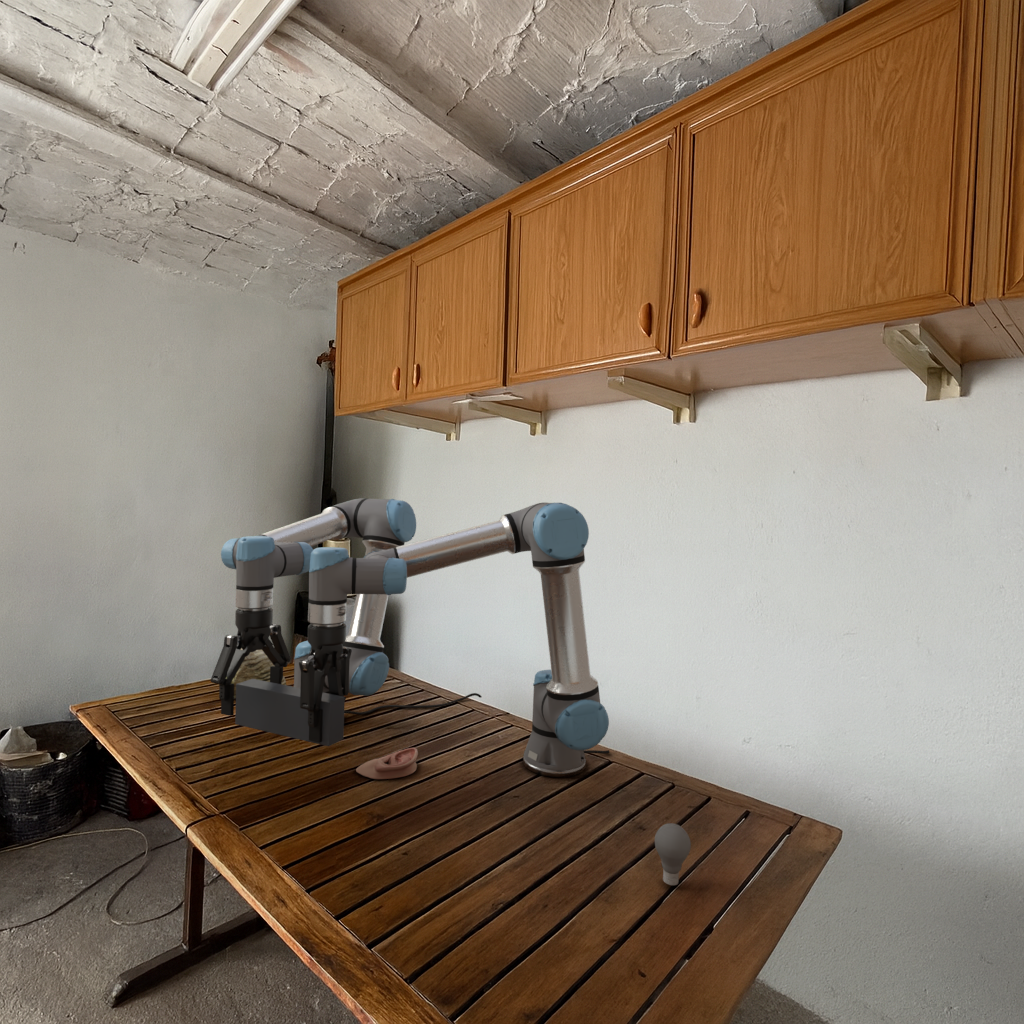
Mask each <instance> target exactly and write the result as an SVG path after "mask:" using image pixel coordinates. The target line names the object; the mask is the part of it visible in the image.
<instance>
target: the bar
mask: <svg viewBox="0 0 1024 1024" xmlns="http://www.w3.org/2000/svg"><path fill="white" fill-rule="evenodd" d="M345 697H346V696H338V695H333V694H328V693H322V699H321V704H320V709H323V719H322V742H320V743H318V742H313V741H309V726H308V710H306V709H302V708H300V688H297V687H294V686H293V685H287V684H286V685H282V684H277V683H272V682H267V681H262V680H257V679H250V680H247V681H244V682H241V683H238V684H236V698H235V713H234V714H235V718H234V719H235V720H234V721H235V722H234V724H235V725H237V726H241V727H246V728H249V729H254V730H258V731H262V732H266V733H270V734H275V735H279V736H283V737H287V738H291V739H295V740H300V741H304V742H307V743H313V744H317V745H321V746H326V747H330V746H332V745H334V744H337V743H339V742H341V741H342V740H344V738H345V737H344V736H345V735H344V734H345V713H344V711H345V704H346V703H345V702H346V700H345ZM314 704H315V703H314Z"/></svg>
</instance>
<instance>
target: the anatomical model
mask: <svg viewBox="0 0 1024 1024" xmlns="http://www.w3.org/2000/svg"><path fill="white" fill-rule="evenodd" d="M418 755H419V751H418V749H417V747H408V748H405V749H404V748H403V749H401V750H397V751H395V752H392V753H390V754H387V755H384V756H381V757H378V758H374V759H371V760H368V761H366V762H364V763H362V764H361V765H359V766H358V767H357V768H356V769H355V771H356V773H357V774H359V775H361V776H363V777H366V778H369V779H372V780H387V779H388V780H390V779H398V778H403V777H406V776H409V775H412V774H414V773H415V772H416V771H417V768H418V764H417V762H416V761H417V759H418Z"/></svg>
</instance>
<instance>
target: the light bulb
mask: <svg viewBox="0 0 1024 1024" xmlns="http://www.w3.org/2000/svg"><path fill="white" fill-rule="evenodd" d="M654 847H655V850H656V852H657V854H658V856H659V858H660V860H661V867H662V869H663V870H662V871H663V873H662V881H663V882H664V883H665V884H667V885H669V886H677V885H678V884H679V880H680V879H679V876H680V871H681V870H682V866H683V863H684V862H685V860H687V857H688V856H689V855H690V852H691V849H692V842H691V838H690V836H689V834H688V832H687V831H686V830H685V829H684V828H683V827H682V826H681V825H679V824H678V823H671V822H669V823H665V824H663V825H662V826H660V827H659V828H658V829H657V831H656V832H655V835H654Z"/></svg>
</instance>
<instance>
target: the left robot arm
mask: <svg viewBox="0 0 1024 1024" xmlns="http://www.w3.org/2000/svg"><path fill="white" fill-rule="evenodd" d="M416 517H417V516H416V514H415V512H414V509H413V507H412V506H411V505H410V503H408V502H407V501H405V500H401V499H395V498H389V499H388V498H368V497H361V498H355V499H351V500H347V501H344V502H340V503H337V504H335V505H334V504H333V505H331V506H329V507H326V508H324V509H323V510H322V512H321V513H319V514H316V515H313V516H310V517H308V518H304V519H302V520H298V521H295V522H293V523H290V524H287V525H284V526H282V527H278V528H275V529H273V530H272V529H271V530H270V531H267V532H264V533H260V534H258V535H247V536H242V537H237V538H230V539H228V540H227V541H225V542H224V543H223V545H222V547H221V550H220V558H221V561H222V564H223V565H224V566H225V567H226V568H228V569H231V570H235V573H236V574H235V607H236V608H237V609H235V619H234V624H235V627H236V628H237V632H236V634H235V635H234V634H233V635H231V634H226V635H225V636H224V638H223V646H222V649H221V652H220V654H219V657H218V659H217V661H216V665H215V667H214V670H213V672H212V675H211V677H210V683H212V684H217V685H219V686H218V687H219V689H218V692H219V693H218V698H219V701H220V714H221V715H225V716H229V717H232V716H234V714H235V713H234V712H235V711H234V710H235V709H234V708H235V698H234V684H232V683H231V682H232V680H233V678H234V676H235V675H236V673H237V671H238V669H239V668H240V666H241V664H242V662H243V661H244V659H245V657H246V656H248V655H249V654H250V652H254V651H256V650H263V652H264V653H265V654H266V656H267V657H268V658H269V660H270V661H271V662H272V663H273V665H275V666H271V667H270V682H272V683H277V684H282V679H283V676H284V668H287V667H288V664H289V663H290V662H291V660H292V658H291V655H290V653H289V650H288V648H287V645H286V642H285V639H284V637H283V634H282V625H280V624H275V623H274V621H273V620H274V619H273V618H274V609H273V608H272V606H273V605H274V583H275V582H274V581H275V580H274V579H276V578H280V577H281V578H282V577H289V576H299V575H302V574H306V573H309V569H310V557H311V552H312V551H313V550H314V549H313V547H315V546H317V545H319V544H322V543H324V542H327V541H329V540H330V541H331V540H333V541H339V540H342V539H345V538H358V539H362V541H361V542H362V544H363V545H364V547H365V554H364V556H366V555H367V554H368V553H370V552H373V551H383V550H387V549H391V548H396V547H398V546H402V545H405V543H408V542H410V541H412V540H413V538H414V537H415V534H416V531H417V518H416ZM389 596H390V595H387V594H356V597H355V601H354V606H353V611H352V616H351V621H350V625H349V629H348V633H347V634H346V640H345V642H344V643H342V645H343V648H350V649H351V650H352V652H351V656H350V663H349V692H348V694H352V695H353V696H364V697H369V696H372V695H374V694H376V693H377V692H378V691H379V690H380V689H381V688H382V687H383V685H384V684H385V682H386V680H387V678H388V674H389V670H390V662H389V658H388V656H387V654H385V653H384V649H385V645H384V644H383V642H382V641H381V637H382V631H383V626H384V625H383V624H384V621H385V615H386V610H387V605H388V600H389ZM241 648H242V649H243V650H241ZM310 651H311V645H310V643H309V642H308V640H304V641H302V642H299V643H298V644H297V645H296V647H295V652H294V653H295V654H294V657H293V659H294V660H293V662H294V663H293V665H294V667H293V687H297V688H300V687H301V670H300V666H299V661H300V660H306V659H307V658H308V657H309V653H310ZM318 671H322V670H318ZM226 677H227V679H226ZM342 689H343V688H342ZM323 693H328V694H330V693H329V686H328V679H327V676H326V677H325V682H324V687H323ZM474 696H475V697H478V698H483V696H482V695H481V694H479V693H476V692H473V693H469V694H467V695H465V696H463V697H459V698H456V699H453V700H451V701H448V702H445V703H439V704H427V705H424V704H423V705H422V704H421V705H405V704H404V705H401V704H399V705H398V704H385V705H380V706H376V707H374V708H371V709H369V710H366V711H354V710H344V714H349V715H356V716H363V715H368V714H371V713H373V712H375V711H378V710H380V709H382V710H383V709H389V708H390V709H391V708H395V709H396V708H397V709H432V708H440V707H441V708H442V707H446V706H450V705H453V704H456V703H457V702H458V703H459V702H462V701H464V700H467V699H468V698H471V697H474Z"/></svg>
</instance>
